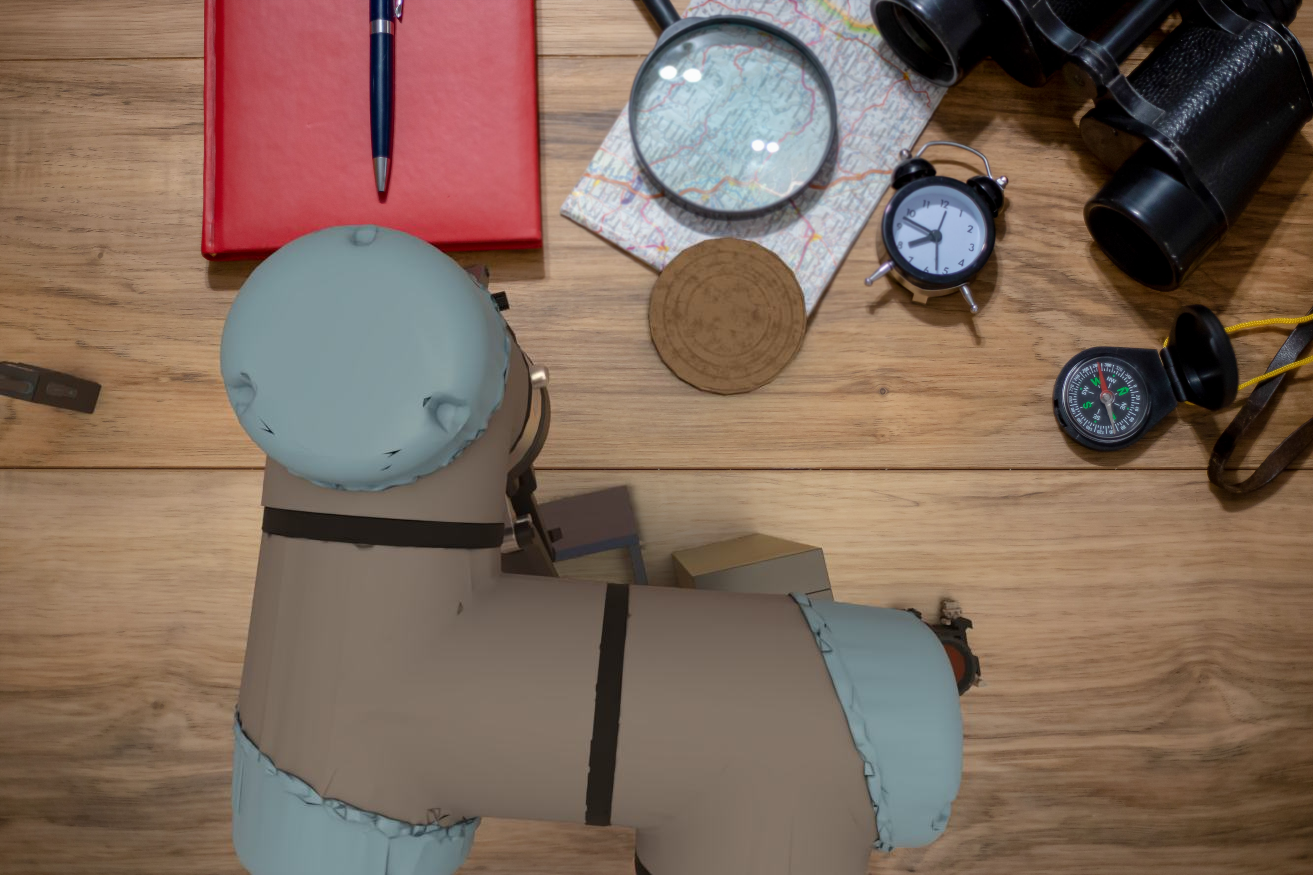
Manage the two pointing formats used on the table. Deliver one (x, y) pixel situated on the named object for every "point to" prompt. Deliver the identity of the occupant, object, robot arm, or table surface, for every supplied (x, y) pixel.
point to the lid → (591, 522)
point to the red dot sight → (957, 645)
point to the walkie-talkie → (48, 387)
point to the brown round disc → (727, 316)
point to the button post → (755, 567)
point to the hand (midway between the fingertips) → (519, 439)
